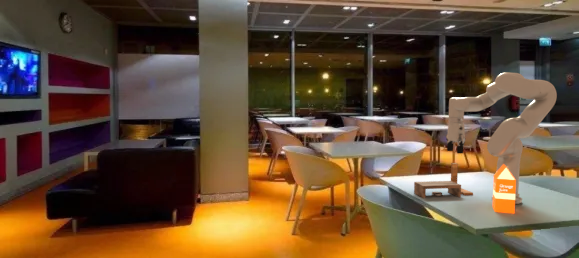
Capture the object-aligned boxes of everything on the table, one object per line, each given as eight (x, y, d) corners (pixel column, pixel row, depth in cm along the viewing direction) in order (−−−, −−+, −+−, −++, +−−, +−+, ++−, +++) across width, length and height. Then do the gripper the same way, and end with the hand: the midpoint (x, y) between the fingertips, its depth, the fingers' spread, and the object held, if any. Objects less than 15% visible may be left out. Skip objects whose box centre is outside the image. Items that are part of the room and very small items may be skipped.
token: (444, 196, 204) (444, 193, 204) (434, 196, 203) (434, 194, 203) (439, 194, 209) (439, 191, 209) (430, 194, 208) (430, 191, 208)
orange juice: (511, 208, 182) (513, 164, 180) (514, 213, 173) (517, 167, 172) (491, 206, 184) (493, 163, 183) (494, 211, 176) (496, 166, 175)
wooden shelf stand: (460, 196, 203) (461, 184, 202) (423, 198, 200) (423, 186, 199) (450, 192, 213) (450, 180, 212) (414, 193, 210) (414, 181, 209)
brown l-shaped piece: (472, 195, 207) (474, 167, 206) (463, 195, 206) (464, 167, 205) (456, 188, 222) (457, 162, 221) (448, 188, 221) (449, 163, 220)
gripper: (471, 121, 209) (470, 154, 211) (453, 119, 227) (452, 149, 228) (458, 121, 208) (457, 154, 210) (441, 119, 225) (440, 150, 227)
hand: (454, 152), depth 219 cm, fingers open, 9 cm apart
